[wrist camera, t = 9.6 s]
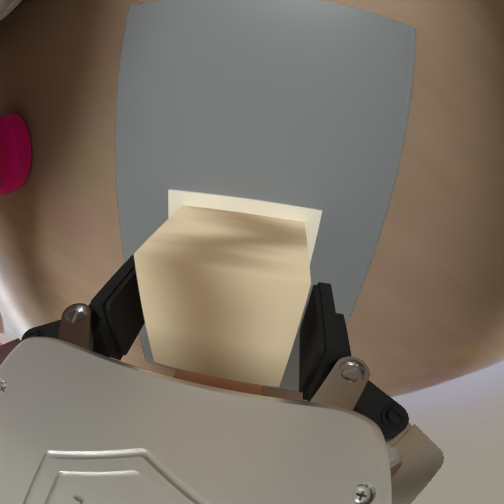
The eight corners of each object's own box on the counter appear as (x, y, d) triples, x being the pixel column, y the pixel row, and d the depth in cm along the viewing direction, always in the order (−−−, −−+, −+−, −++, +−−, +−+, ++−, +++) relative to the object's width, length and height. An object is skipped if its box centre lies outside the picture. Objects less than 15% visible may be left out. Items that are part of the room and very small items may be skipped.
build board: (408, 33, 8) (417, 28, 7) (313, 382, 20) (313, 393, 19) (138, 10, 9) (127, 5, 8) (150, 352, 21) (145, 362, 20)
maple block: (304, 222, 13) (311, 283, 8) (283, 316, 16) (279, 387, 11) (182, 205, 13) (133, 254, 9) (185, 299, 16) (154, 361, 12)
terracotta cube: (268, 342, 17) (260, 407, 13) (258, 382, 20) (250, 438, 15) (193, 328, 17) (169, 388, 13) (196, 371, 20) (178, 423, 16)
